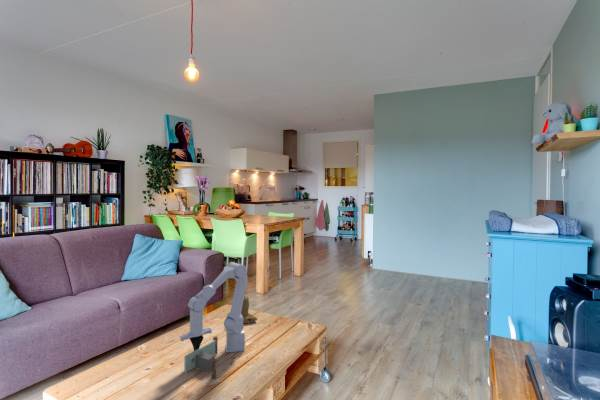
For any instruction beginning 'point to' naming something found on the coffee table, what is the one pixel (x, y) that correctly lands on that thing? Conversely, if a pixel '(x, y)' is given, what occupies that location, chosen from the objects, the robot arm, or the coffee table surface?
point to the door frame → (214, 362)
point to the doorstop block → (204, 361)
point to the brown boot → (246, 316)
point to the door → (191, 357)
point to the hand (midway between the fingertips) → (196, 351)
